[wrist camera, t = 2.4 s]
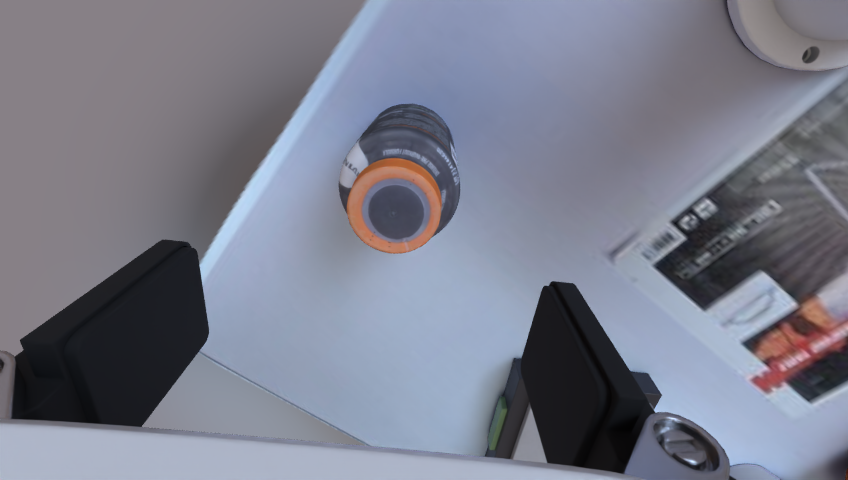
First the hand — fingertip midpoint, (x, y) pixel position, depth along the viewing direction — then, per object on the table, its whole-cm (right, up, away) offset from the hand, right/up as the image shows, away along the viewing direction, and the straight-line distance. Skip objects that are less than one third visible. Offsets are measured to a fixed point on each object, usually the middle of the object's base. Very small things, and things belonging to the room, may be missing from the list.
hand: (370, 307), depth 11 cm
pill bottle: (0, +8, +16) cm, 18 cm away
